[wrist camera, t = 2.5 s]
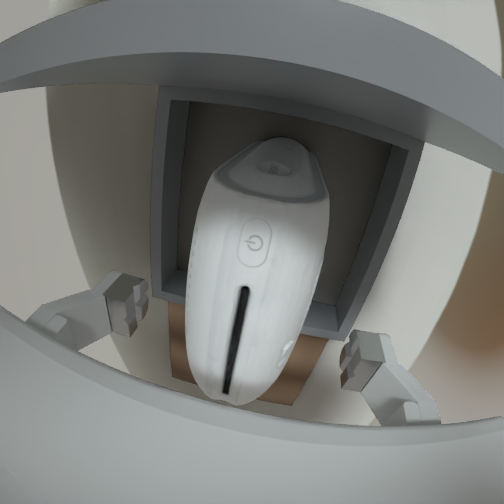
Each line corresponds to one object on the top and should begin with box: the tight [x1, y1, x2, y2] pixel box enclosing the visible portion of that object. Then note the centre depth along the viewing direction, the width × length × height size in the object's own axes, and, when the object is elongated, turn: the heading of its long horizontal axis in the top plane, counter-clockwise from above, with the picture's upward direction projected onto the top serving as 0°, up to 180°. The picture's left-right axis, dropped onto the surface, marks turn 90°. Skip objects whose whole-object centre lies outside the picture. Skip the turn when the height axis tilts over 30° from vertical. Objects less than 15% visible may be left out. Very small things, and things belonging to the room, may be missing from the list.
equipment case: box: [0, 0, 504, 341], centre depth 12 cm, size 15×15×15 cm
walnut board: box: [168, 301, 328, 406], centre depth 26 cm, size 13×14×1 cm
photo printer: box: [185, 137, 330, 406], centre depth 13 cm, size 10×4×12 cm, turn 170°
